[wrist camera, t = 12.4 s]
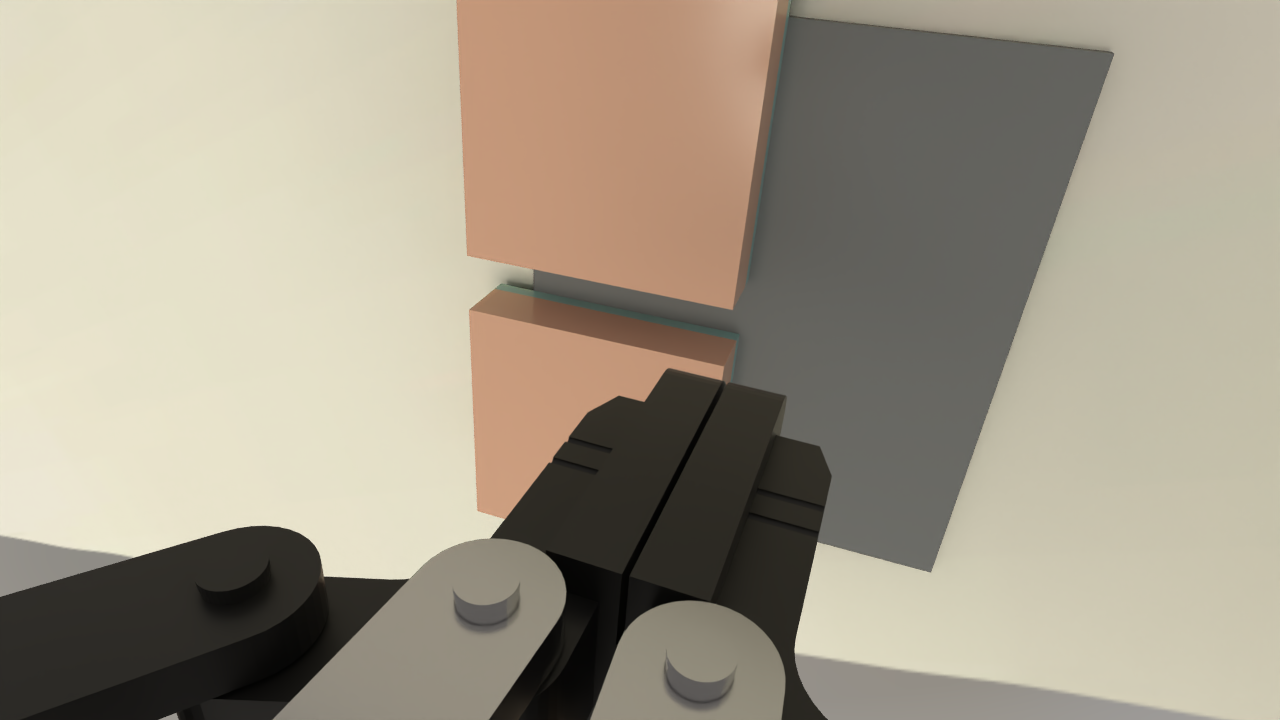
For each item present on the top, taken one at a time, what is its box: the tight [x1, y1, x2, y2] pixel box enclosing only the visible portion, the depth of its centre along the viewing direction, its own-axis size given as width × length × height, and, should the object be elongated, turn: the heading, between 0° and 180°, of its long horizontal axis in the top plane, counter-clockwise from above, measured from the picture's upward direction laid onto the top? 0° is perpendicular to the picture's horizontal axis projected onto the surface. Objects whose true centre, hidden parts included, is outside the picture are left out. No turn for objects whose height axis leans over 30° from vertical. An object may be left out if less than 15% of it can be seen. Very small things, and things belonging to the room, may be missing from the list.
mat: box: [534, 16, 1114, 572], centre depth 26 cm, size 16×18×1 cm
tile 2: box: [469, 284, 740, 519], centre depth 29 cm, size 2×9×9 cm
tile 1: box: [457, 0, 791, 310], centre depth 23 cm, size 2×9×9 cm
